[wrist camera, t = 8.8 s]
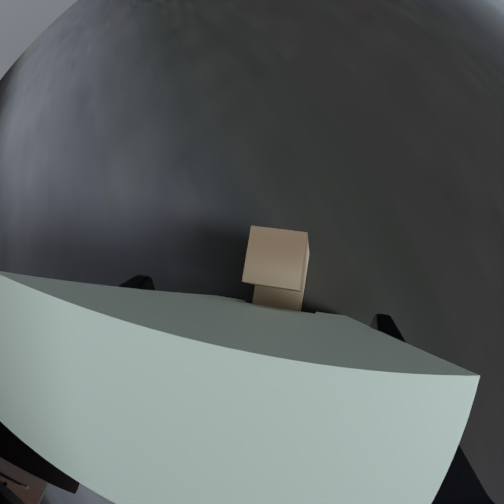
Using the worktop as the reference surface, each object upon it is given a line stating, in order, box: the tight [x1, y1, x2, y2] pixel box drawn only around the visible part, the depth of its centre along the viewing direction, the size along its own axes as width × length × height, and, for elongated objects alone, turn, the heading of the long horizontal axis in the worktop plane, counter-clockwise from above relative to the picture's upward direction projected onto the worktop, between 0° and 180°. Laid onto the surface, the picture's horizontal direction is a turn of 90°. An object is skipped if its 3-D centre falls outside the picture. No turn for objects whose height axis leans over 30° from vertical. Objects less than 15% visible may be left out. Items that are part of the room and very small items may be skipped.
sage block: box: [0, 271, 480, 504], centre depth 9 cm, size 2×6×12 cm, turn 81°
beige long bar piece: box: [242, 226, 309, 312], centre depth 12 cm, size 22×2×5 cm, turn 171°
